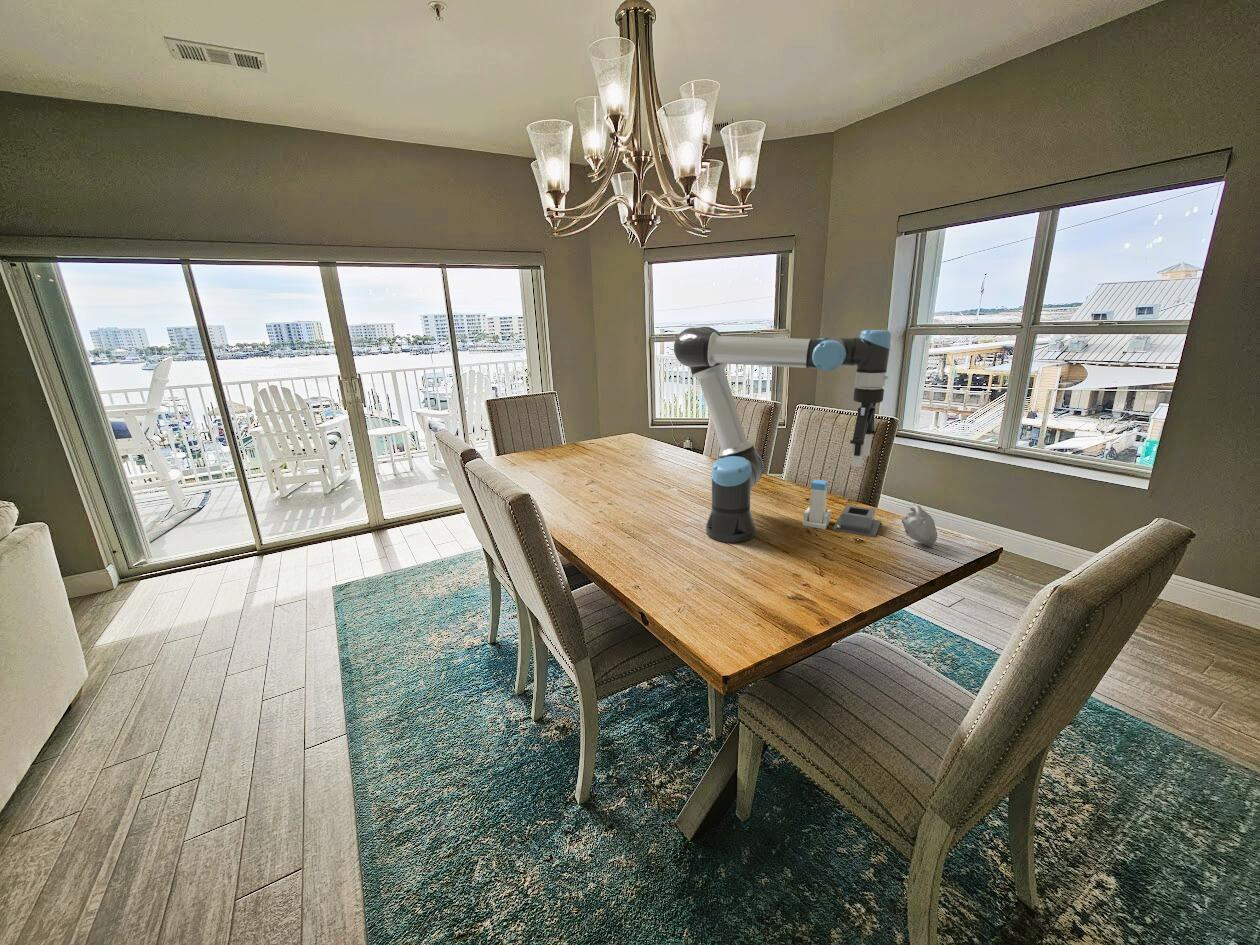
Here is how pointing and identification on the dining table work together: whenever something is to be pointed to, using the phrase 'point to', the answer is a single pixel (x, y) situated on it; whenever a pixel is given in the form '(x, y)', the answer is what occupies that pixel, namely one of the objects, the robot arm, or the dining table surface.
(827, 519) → the holster
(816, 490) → the plug
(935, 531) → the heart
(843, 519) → the port panel
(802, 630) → the dining table surface
